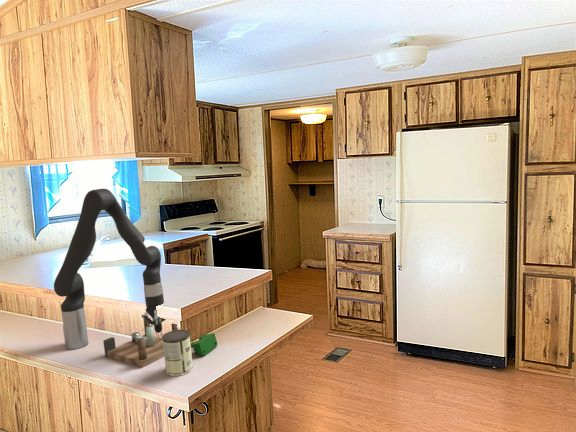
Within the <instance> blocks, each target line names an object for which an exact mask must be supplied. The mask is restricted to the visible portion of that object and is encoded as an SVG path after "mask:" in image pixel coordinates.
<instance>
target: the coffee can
mask: <svg viewBox="0 0 576 432" xmlns="http://www.w3.org/2000/svg"><path fill="white" fill-rule="evenodd" d="M161 336H162V340H163V348H164V357H163V358H164V364H165V374H167V375H168V376H171V377H179V375H180V376H183V375H186V373H187V374H189V373H190V372H192V371H193V369H194V364H193V362H194V361H193V356H192V355H193V353H192V348H191V343H192V342H191V332H190V331H189V330H187V329H179V330H174V331H172V330H171V331H168V332H166V333H164V334H162V335H161ZM188 372H189V373H188Z"/></svg>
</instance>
